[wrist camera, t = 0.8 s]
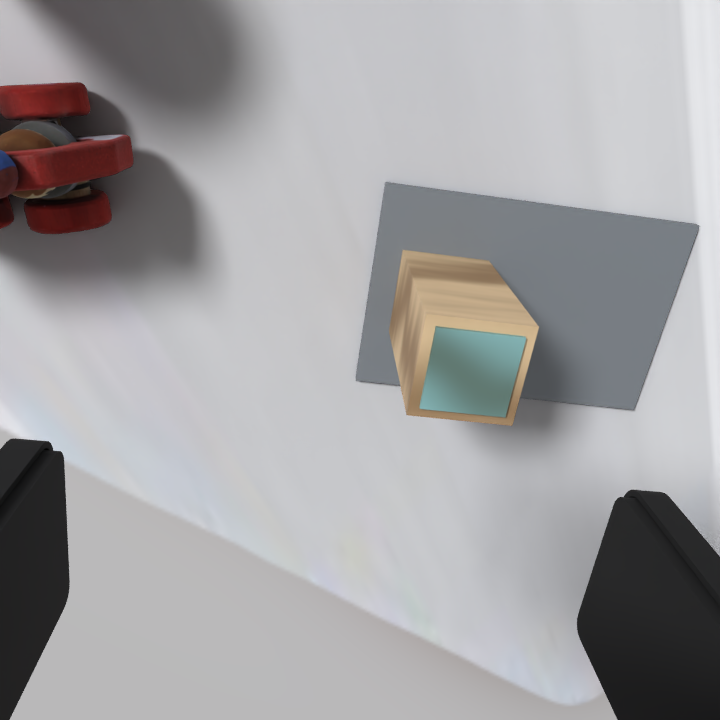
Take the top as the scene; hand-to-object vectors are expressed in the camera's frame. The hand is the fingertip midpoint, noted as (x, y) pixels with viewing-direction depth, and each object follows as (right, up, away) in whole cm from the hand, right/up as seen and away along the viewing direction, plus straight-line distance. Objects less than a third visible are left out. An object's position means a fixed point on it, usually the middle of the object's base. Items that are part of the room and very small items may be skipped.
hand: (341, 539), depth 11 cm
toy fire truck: (-17, +14, +24) cm, 33 cm away
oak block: (+5, +7, +27) cm, 29 cm away
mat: (+10, +6, +28) cm, 31 cm away
